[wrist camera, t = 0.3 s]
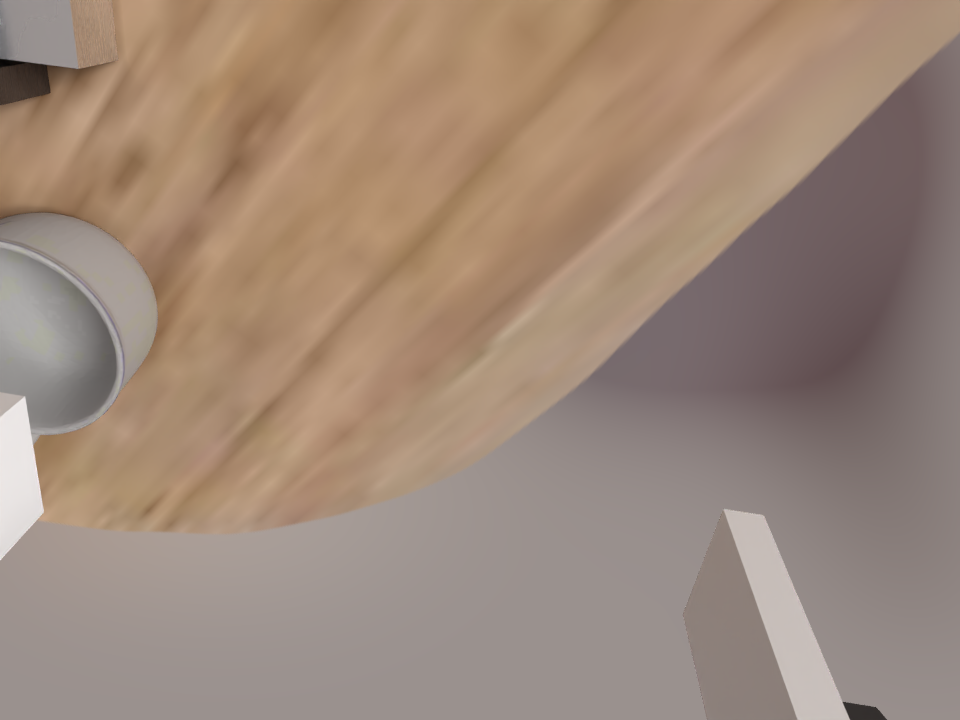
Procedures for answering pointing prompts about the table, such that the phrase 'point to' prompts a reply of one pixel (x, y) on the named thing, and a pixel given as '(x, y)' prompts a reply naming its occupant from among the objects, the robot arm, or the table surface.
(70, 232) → the teacup
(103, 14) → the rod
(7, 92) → the sleeve
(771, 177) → the table surface
